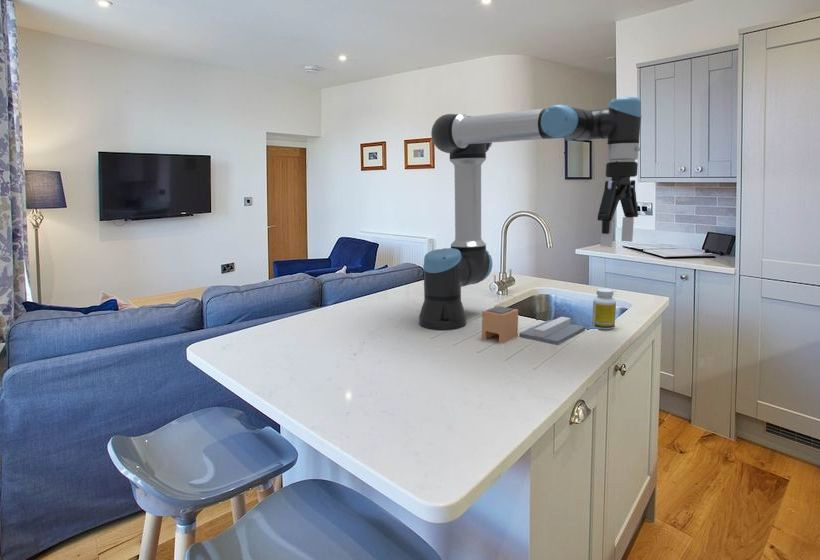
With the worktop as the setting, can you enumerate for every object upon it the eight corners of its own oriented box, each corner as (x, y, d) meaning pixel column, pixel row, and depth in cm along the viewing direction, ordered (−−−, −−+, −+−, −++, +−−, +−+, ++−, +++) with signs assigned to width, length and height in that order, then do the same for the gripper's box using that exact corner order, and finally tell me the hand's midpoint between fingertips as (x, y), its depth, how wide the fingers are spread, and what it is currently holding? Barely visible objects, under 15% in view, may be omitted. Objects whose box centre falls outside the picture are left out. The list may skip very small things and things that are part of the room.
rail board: (519, 336, 146) (519, 326, 145) (548, 323, 159) (548, 313, 158) (557, 344, 138) (558, 334, 137) (585, 329, 151) (585, 320, 150)
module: (481, 338, 145) (482, 310, 144) (497, 331, 151) (497, 305, 149) (502, 343, 140) (503, 314, 139) (517, 336, 146) (518, 308, 145)
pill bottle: (616, 330, 150) (618, 292, 147) (593, 330, 151) (595, 292, 149) (612, 324, 156) (614, 288, 154) (590, 324, 157) (592, 287, 155)
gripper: (617, 160, 117) (611, 250, 121) (654, 161, 135) (648, 240, 139) (586, 161, 122) (582, 247, 127) (626, 162, 140) (621, 238, 144)
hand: (616, 243), depth 133 cm, fingers open, 13 cm apart
